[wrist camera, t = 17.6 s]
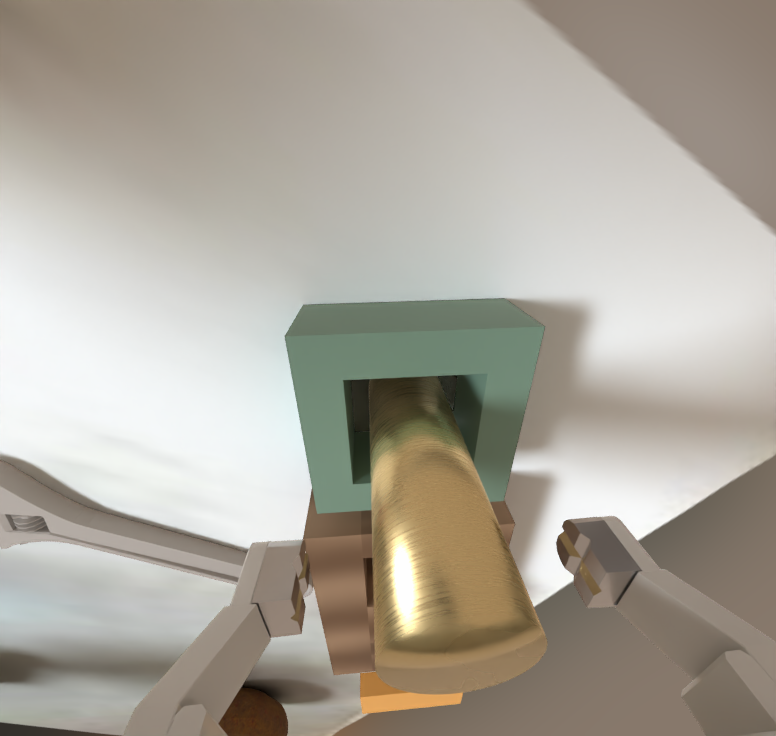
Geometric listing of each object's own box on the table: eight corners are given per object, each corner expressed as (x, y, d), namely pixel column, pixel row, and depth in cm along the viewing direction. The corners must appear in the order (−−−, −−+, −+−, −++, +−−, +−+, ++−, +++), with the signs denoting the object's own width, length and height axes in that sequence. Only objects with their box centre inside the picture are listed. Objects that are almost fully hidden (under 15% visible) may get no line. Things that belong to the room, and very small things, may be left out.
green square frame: (302, 304, 15) (284, 336, 12) (504, 298, 16) (545, 326, 12) (325, 458, 20) (317, 513, 16) (479, 449, 20) (503, 501, 17)
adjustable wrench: (322, 565, 26) (319, 588, 25) (283, 600, 28) (278, 624, 27) (-58, 432, 18) (-99, 454, 16) (-73, 497, 20) (-111, 523, 18)
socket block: (313, 481, 21) (303, 538, 17) (490, 470, 21) (514, 523, 18) (337, 618, 29) (333, 674, 26) (463, 607, 30) (476, 661, 26)
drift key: (361, 593, 26) (360, 697, 21) (443, 586, 26) (464, 687, 21) (362, 612, 27) (362, 713, 22) (441, 605, 28) (460, 703, 22)
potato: (216, 674, 33) (187, 768, 28) (304, 684, 36) (293, 772, 30) (200, 697, 36) (171, 788, 30) (283, 705, 38) (270, 790, 33)
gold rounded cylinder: (367, 357, 17) (371, 625, 6) (440, 354, 17) (567, 607, 6) (370, 417, 19) (377, 701, 8) (436, 414, 19) (528, 686, 8)
